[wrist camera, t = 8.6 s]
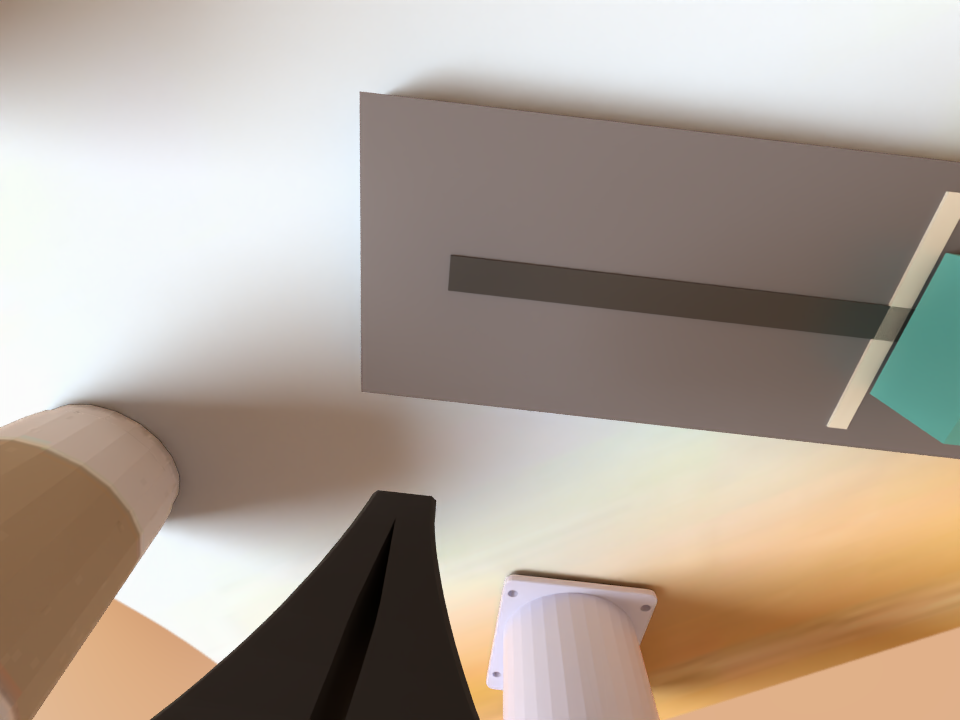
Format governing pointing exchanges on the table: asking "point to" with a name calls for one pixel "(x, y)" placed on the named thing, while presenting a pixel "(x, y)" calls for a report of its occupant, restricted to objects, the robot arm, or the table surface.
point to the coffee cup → (70, 536)
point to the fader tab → (929, 360)
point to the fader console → (643, 271)
